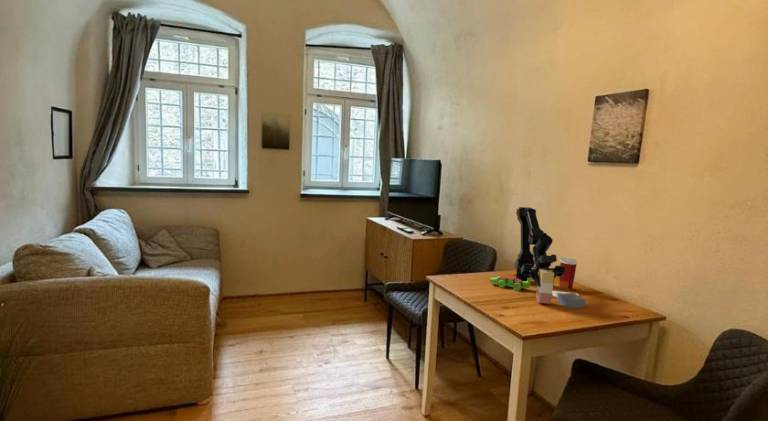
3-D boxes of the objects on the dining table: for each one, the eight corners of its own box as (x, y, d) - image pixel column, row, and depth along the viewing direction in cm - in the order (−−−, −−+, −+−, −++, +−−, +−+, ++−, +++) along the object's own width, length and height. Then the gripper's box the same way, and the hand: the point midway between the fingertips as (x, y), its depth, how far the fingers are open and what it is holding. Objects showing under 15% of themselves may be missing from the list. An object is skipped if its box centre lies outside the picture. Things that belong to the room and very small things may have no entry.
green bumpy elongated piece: (488, 285, 210) (489, 274, 209) (491, 282, 216) (492, 271, 215) (529, 293, 201) (530, 281, 200) (531, 289, 207) (532, 277, 206)
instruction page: (552, 296, 197) (553, 295, 197) (551, 290, 206) (551, 290, 206) (580, 300, 194) (580, 299, 194) (577, 294, 202) (578, 293, 202)
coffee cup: (571, 286, 215) (574, 258, 213) (576, 291, 207) (580, 262, 204) (554, 285, 215) (557, 256, 213) (559, 290, 207) (562, 261, 205)
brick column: (535, 298, 190) (539, 269, 188) (546, 299, 190) (550, 269, 188) (539, 302, 185) (542, 272, 183) (550, 303, 185) (554, 273, 183)
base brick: (557, 302, 191) (558, 293, 191) (572, 301, 193) (573, 293, 192) (568, 308, 183) (569, 299, 183) (584, 307, 185) (585, 299, 184)
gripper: (524, 246, 189) (529, 277, 179) (566, 248, 188) (573, 279, 178) (518, 258, 197) (522, 288, 188) (558, 261, 197) (564, 291, 187)
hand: (545, 287), depth 185 cm, fingers closed on brick column, 5 cm apart
